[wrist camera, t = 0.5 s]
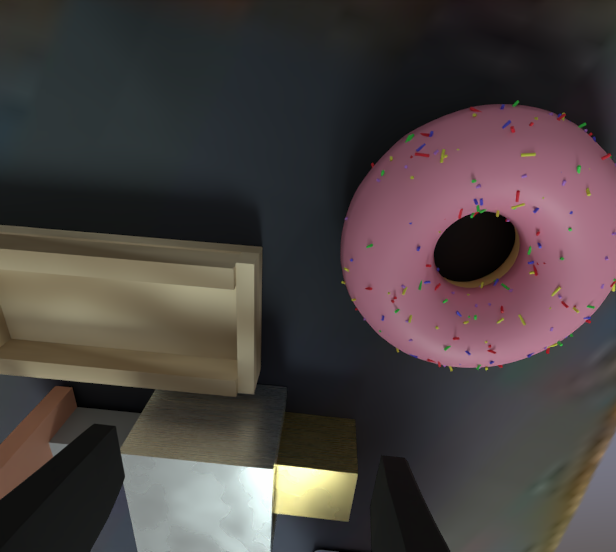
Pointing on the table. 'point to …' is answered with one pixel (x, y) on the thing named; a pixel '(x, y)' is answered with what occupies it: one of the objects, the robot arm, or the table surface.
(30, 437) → the salmon pink block
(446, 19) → the table surface
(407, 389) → the table surface
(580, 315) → the doughnut
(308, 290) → the table surface
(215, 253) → the beige tray
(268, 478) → the socket sleeve
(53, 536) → the robot arm
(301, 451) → the olive rectangular pillar
